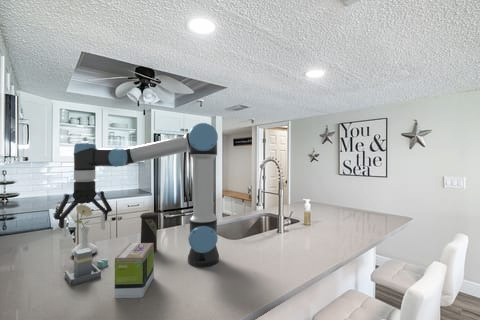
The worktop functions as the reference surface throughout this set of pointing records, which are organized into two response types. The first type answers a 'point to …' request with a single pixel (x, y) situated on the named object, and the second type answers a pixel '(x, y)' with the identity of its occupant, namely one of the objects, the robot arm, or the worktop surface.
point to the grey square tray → (74, 281)
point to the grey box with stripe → (82, 262)
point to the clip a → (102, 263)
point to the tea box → (134, 270)
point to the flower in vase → (84, 230)
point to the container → (149, 228)
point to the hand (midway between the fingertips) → (84, 232)
